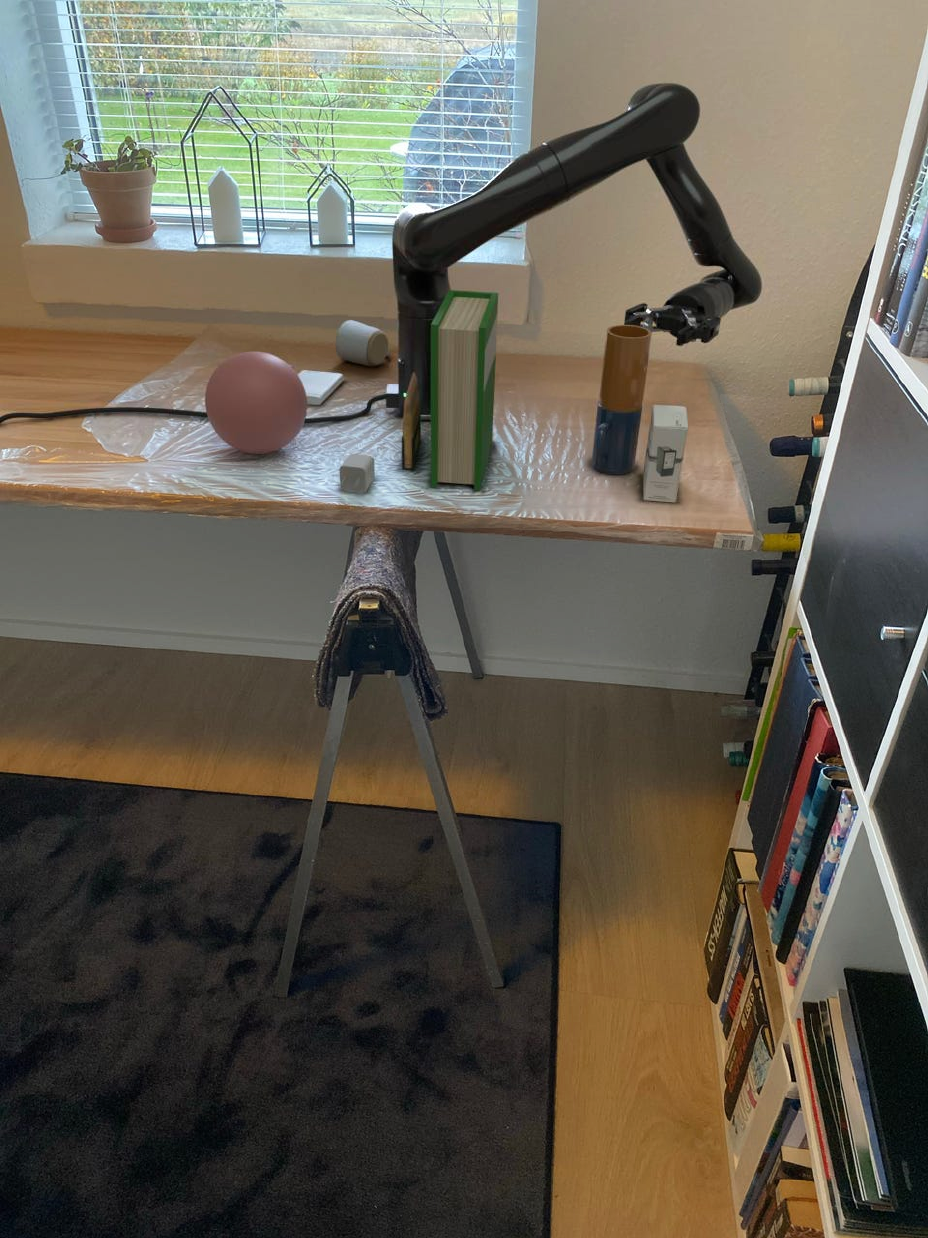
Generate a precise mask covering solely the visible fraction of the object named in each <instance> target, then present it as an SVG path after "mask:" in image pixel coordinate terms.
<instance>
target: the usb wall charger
mask: <svg viewBox="0 0 928 1238" xmlns="http://www.w3.org/2000/svg"><path fill="white" fill-rule="evenodd" d="M375 469H376V468H375V458H374V457H373V456H372V455H368V454H357V453H350V454H349V455H348V456H347V457H346V459H345V460H344V461H343V463H342V464H341V466H340V467H339V470H338V472H339V487H340V489H341V490H342V491H344V492H349V493H360V494H364V493H365V492H367V490H368V489H369V487H370V486H371V484H372V483H373V481H374V480H375V479H376V478H375V477H376V471H375Z"/></svg>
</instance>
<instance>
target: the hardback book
mask: <svg viewBox="0 0 928 1238" xmlns="http://www.w3.org/2000/svg"><path fill="white" fill-rule="evenodd" d="M498 308H499V292H490V291H471V290H455V289H451V290H449V291H448V293H447V295H446V297H445V299H444V301H443V303H442V304H441V306H440V308H439V310H438V312H437V314H436V316H435V318H434V320H433V322H432V323H431V420H430V488H434V489H435V488H436V489H437V488H438V485H439V483H446V484H447V483H449V484H450V483H451V484H459V485H460V484H463V485H473V491H474V492H481V489H482V486H483V482H484V477H485V473H486V469H487V465H488V462H489V458H490V453H491V449H492V445H493V434H494V433H493V431H494V430H493V428H494V410H495V409H494V408H495V407H494V406H495V380H496V379H495V378H496V361H497V360H496V358H497V335H498V333H497V332H498Z"/></svg>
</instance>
